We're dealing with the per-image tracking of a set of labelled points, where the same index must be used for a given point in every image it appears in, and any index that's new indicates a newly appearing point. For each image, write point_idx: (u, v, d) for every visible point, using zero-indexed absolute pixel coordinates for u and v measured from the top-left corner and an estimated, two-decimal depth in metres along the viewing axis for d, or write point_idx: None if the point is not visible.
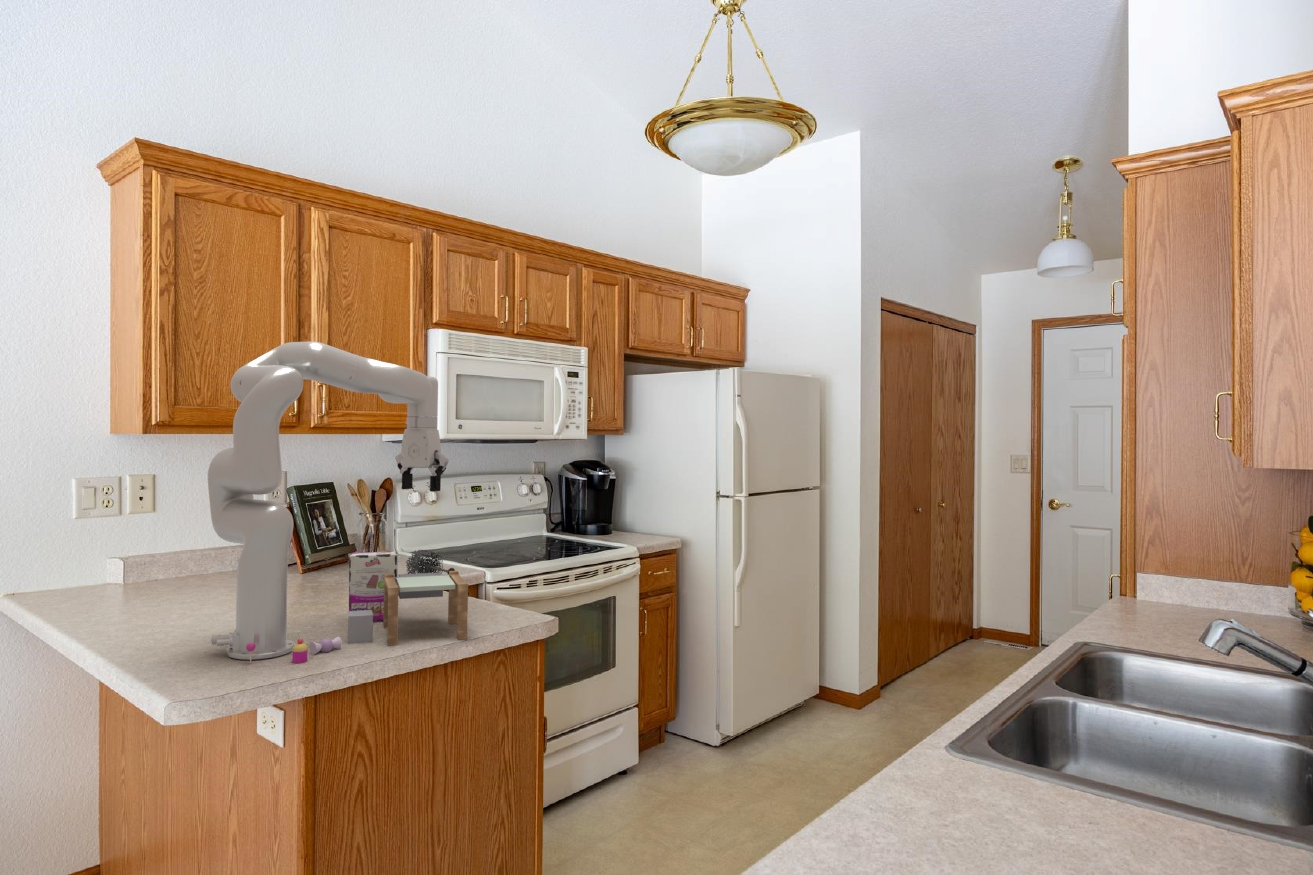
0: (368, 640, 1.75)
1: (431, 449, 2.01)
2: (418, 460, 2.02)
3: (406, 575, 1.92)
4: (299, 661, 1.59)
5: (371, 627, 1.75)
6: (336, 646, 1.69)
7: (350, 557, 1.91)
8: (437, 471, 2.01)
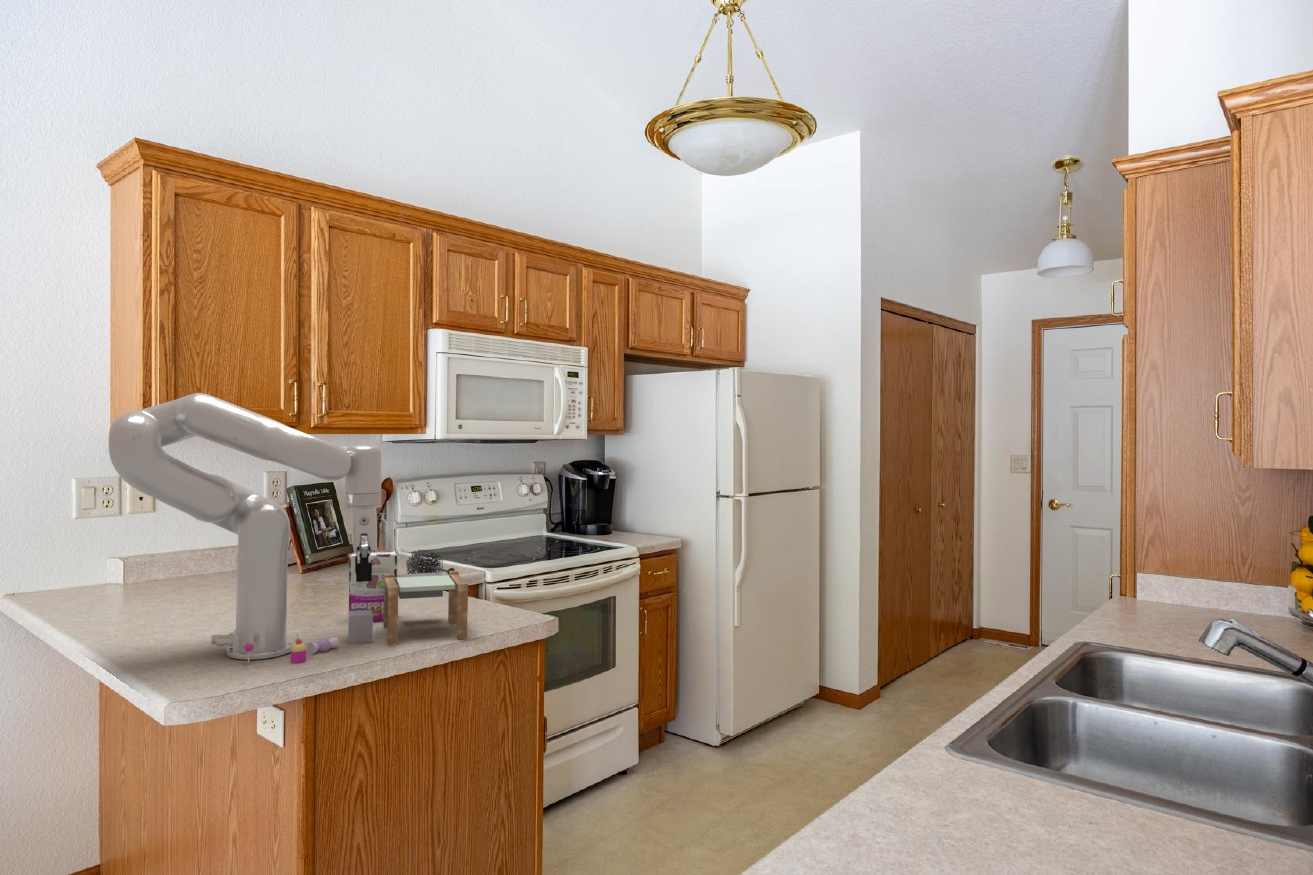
0: (368, 640, 1.75)
1: None
2: None
3: (406, 575, 1.92)
4: (297, 661, 1.59)
5: (371, 627, 1.75)
6: (334, 645, 1.69)
7: (350, 557, 1.91)
8: None
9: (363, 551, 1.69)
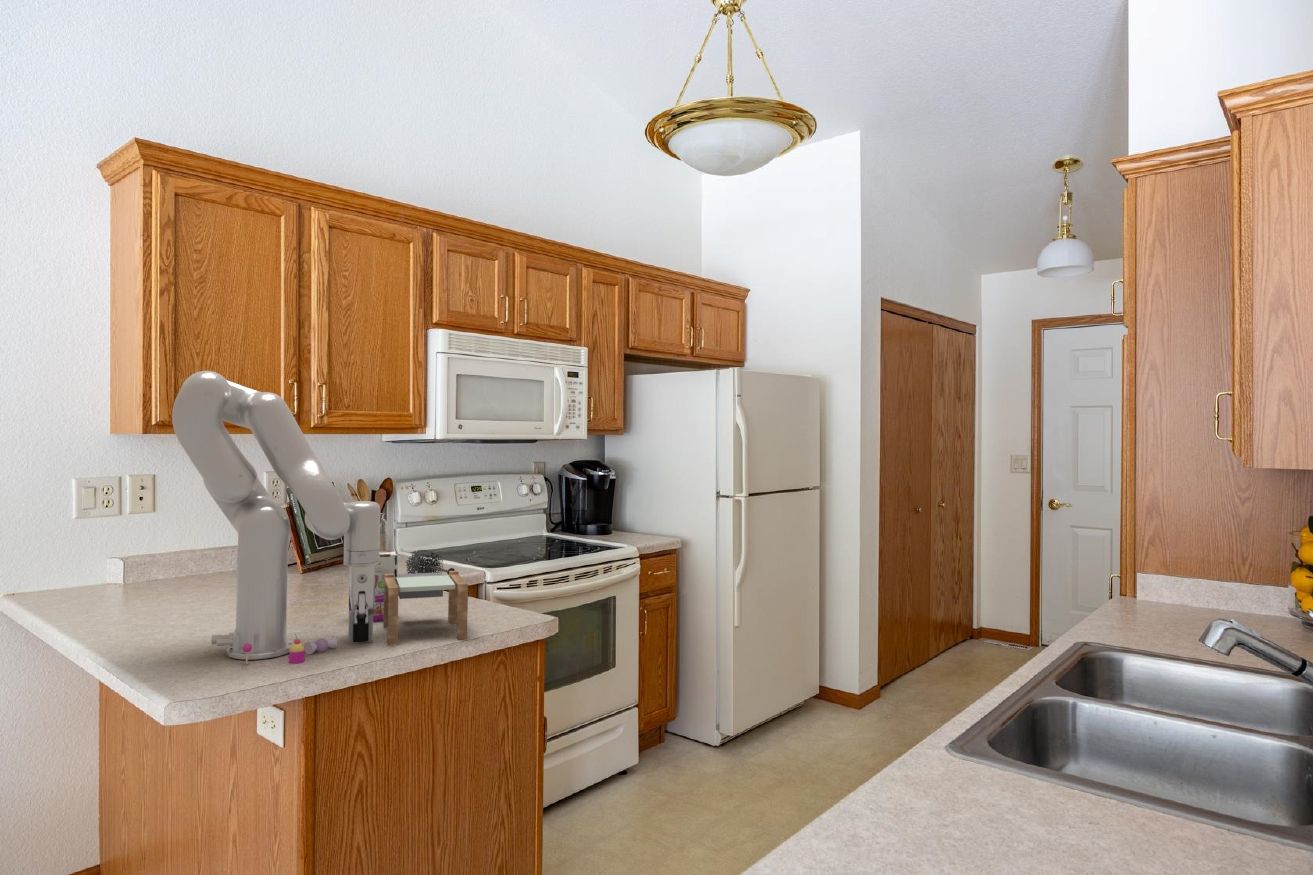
0: (368, 640, 1.75)
1: None
2: None
3: (406, 575, 1.92)
4: (296, 661, 1.59)
5: (371, 627, 1.75)
6: (332, 645, 1.69)
7: None
8: None
9: (360, 616, 1.71)
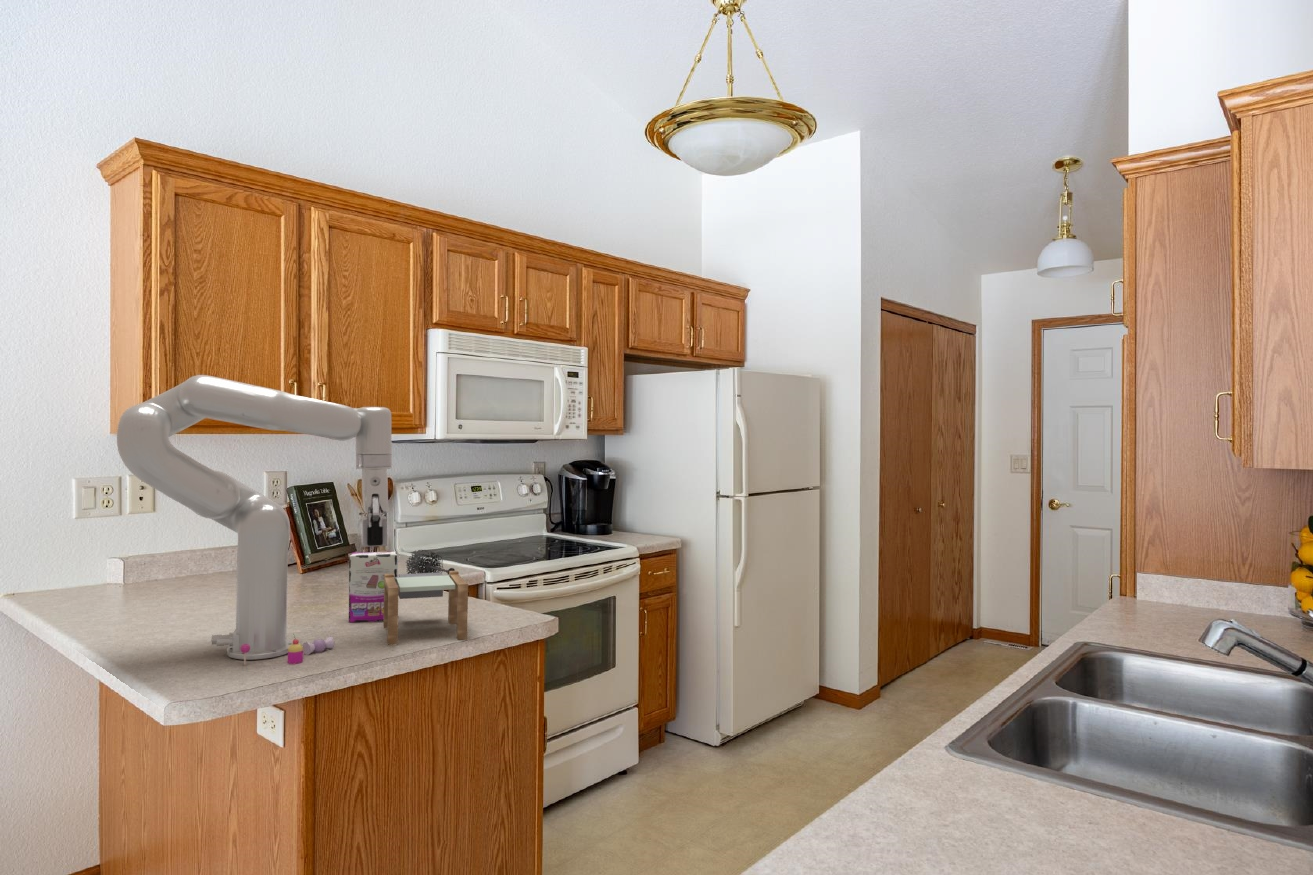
0: (383, 544, 1.76)
1: None
2: None
3: (406, 575, 1.92)
4: (295, 661, 1.59)
5: (385, 531, 1.76)
6: (329, 646, 1.69)
7: (350, 557, 1.91)
8: None
9: (374, 517, 1.71)
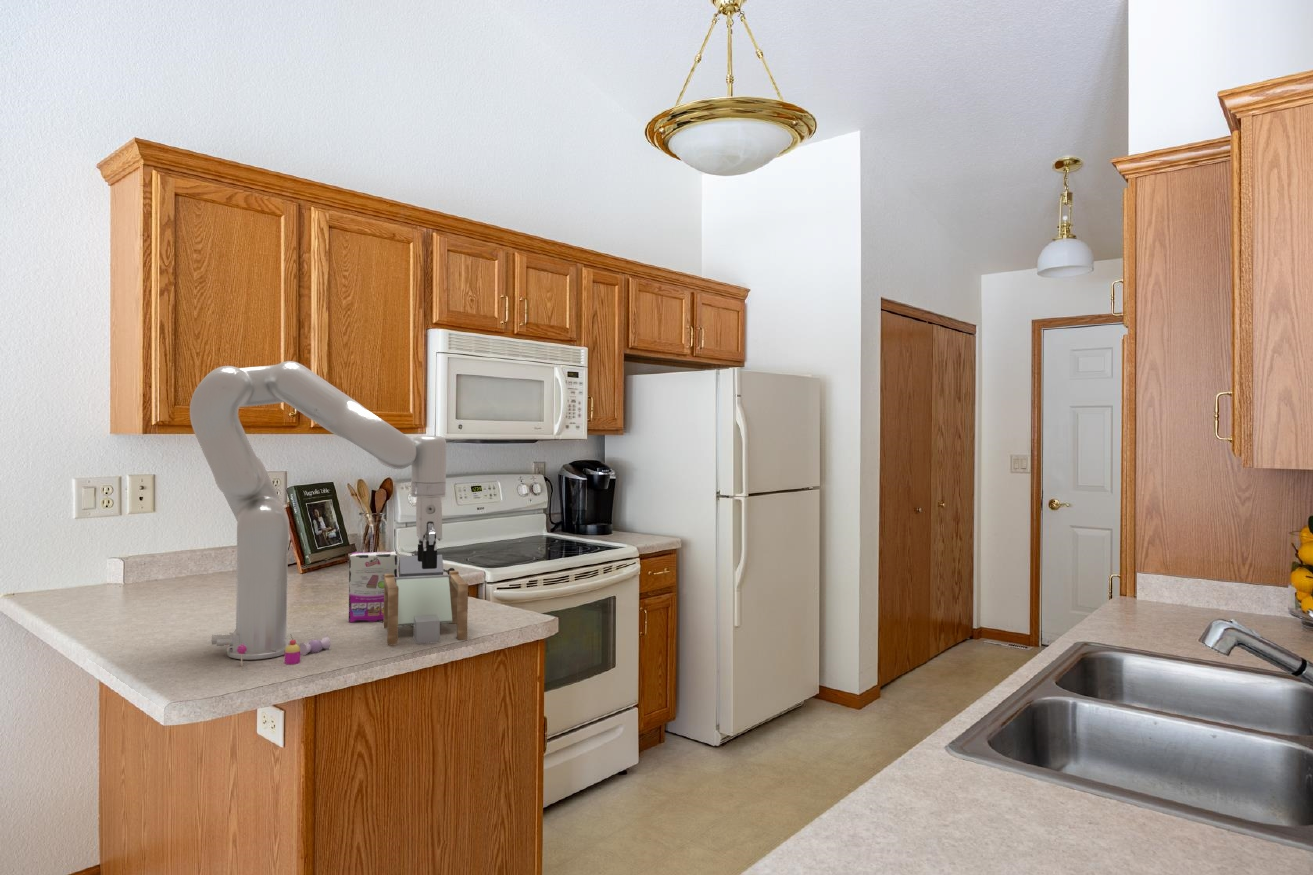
0: None
1: None
2: None
3: (407, 562, 1.91)
4: (292, 662, 1.58)
5: None
6: (325, 646, 1.68)
7: (350, 557, 1.91)
8: None
9: (430, 539, 1.73)
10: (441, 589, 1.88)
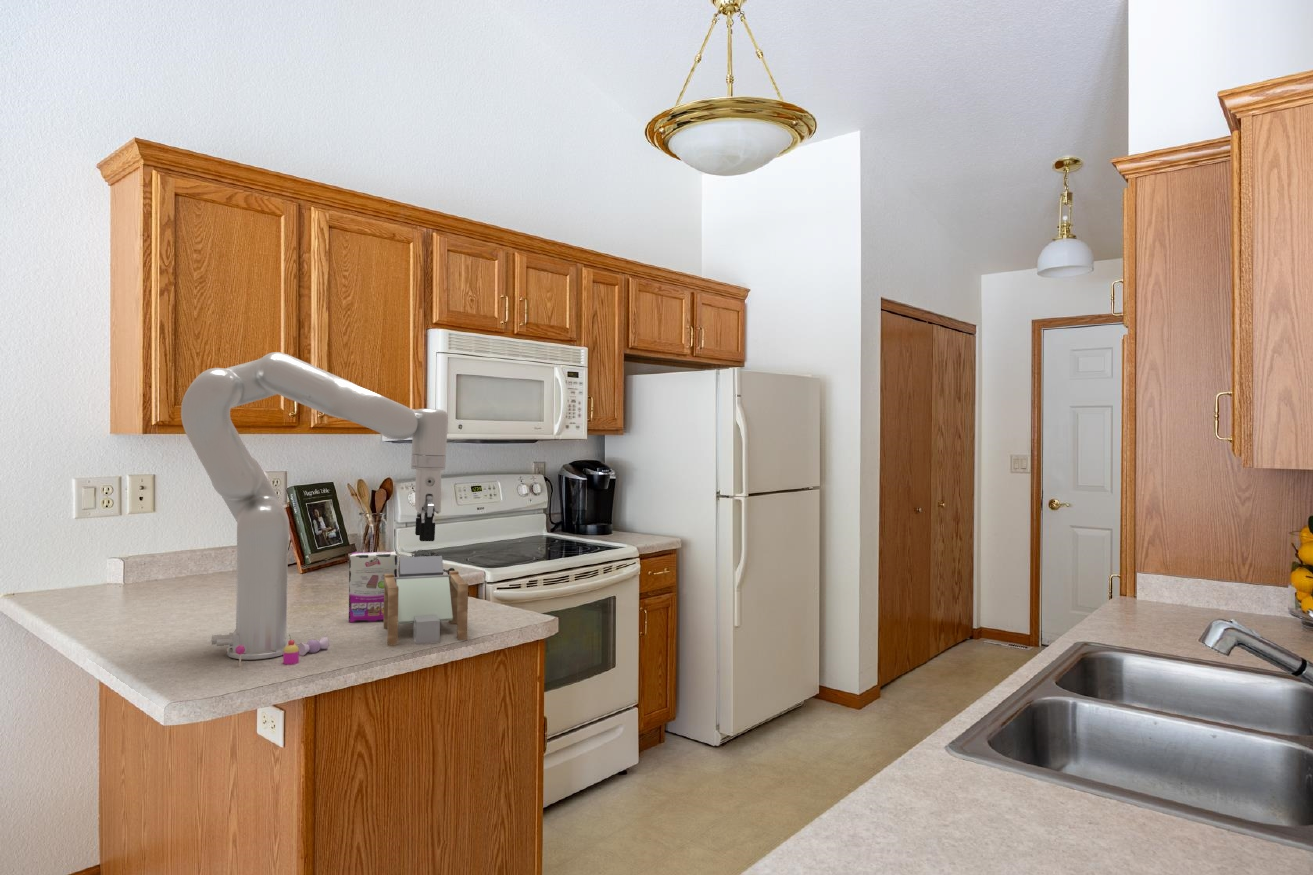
0: None
1: None
2: None
3: (407, 563, 1.91)
4: (291, 662, 1.58)
5: None
6: (324, 646, 1.68)
7: (350, 557, 1.91)
8: None
9: (429, 510, 1.73)
10: (441, 588, 1.88)
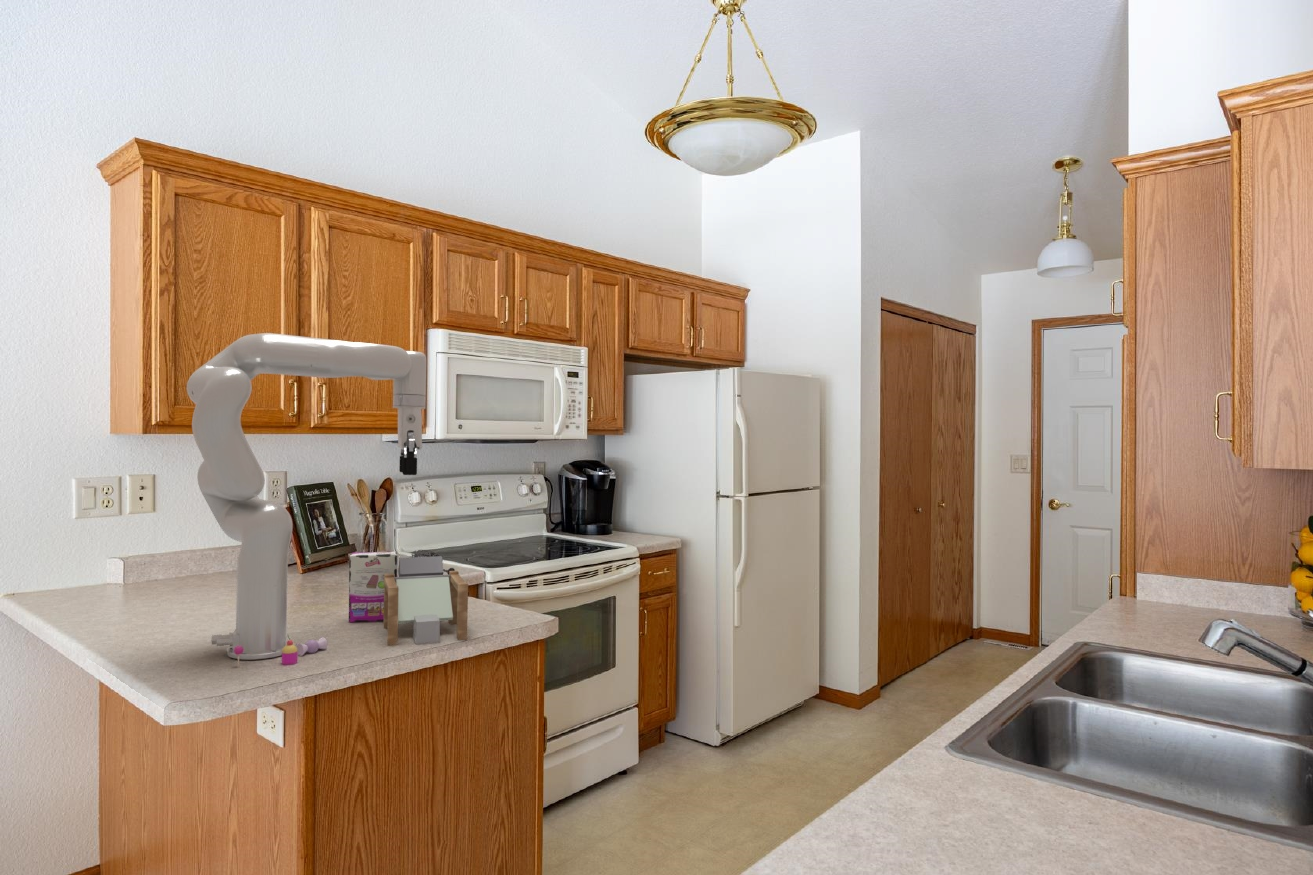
0: None
1: None
2: None
3: (407, 563, 1.91)
4: (289, 662, 1.58)
5: None
6: (322, 646, 1.68)
7: (350, 557, 1.91)
8: None
9: (410, 445, 1.84)
10: (441, 588, 1.88)
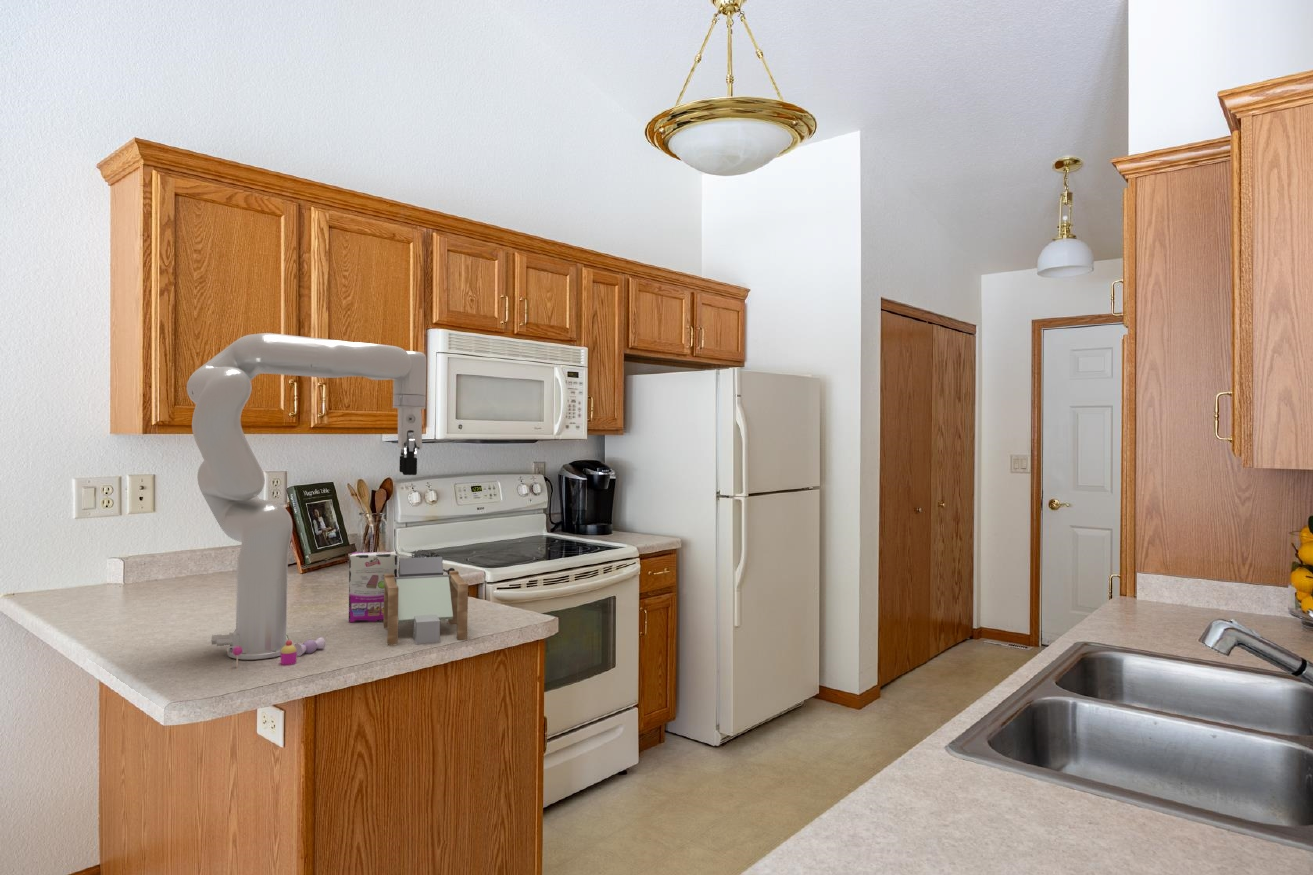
0: None
1: None
2: None
3: (407, 564, 1.91)
4: (289, 663, 1.58)
5: None
6: (320, 646, 1.68)
7: (350, 557, 1.91)
8: None
9: (410, 445, 1.84)
10: (441, 588, 1.88)
